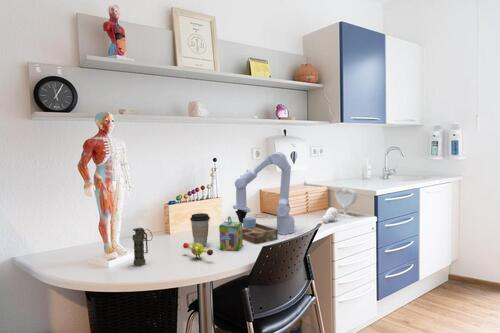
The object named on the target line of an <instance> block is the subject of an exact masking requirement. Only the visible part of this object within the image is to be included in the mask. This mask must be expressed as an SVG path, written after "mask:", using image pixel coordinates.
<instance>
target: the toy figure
mask: <svg viewBox="0 0 500 333" xmlns="http://www.w3.org/2000/svg"><path fill="white" fill-rule="evenodd" d="M182 247H183V248H184V249H190V250H191V254H192V255H194V256H195V257H194V259H196V260H200V259H201V255H202V254H203V253H206V254H207V255H208V256H212V255H213V254H214V251H213V249H207V250H206V249H204V247H203V245H202V244H200V243H195V244H194V243H193V244H192V245H190V244H189V243H188V242H185V243H183V246H182Z"/></svg>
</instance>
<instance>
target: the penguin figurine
mask: <svg viewBox="0 0 500 333" xmlns="http://www.w3.org/2000/svg"><path fill="white" fill-rule="evenodd" d="M338 214H339V212H338V209H337V208H336V207H334V206H333V207H329V208H328V209H327V210H326V212H325V213H324V215H323V216H322V217H321V221H322V222H323V224H328V223H329V222H330V220H331V221H333V222H334V223H336V222H337V218H338V216H339V215H338ZM328 220H329V221H328Z"/></svg>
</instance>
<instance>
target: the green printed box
mask: <svg viewBox="0 0 500 333" xmlns="http://www.w3.org/2000/svg"><path fill="white" fill-rule="evenodd" d="M242 227H243V223H242V222H239V221H232V218H231V215H229V216H228V217H227V221H224V222H222V223H220V224H219V227H218V228H219V229H218V230H219V250H220V251H240V249H241V248H242V246H243V239H242Z"/></svg>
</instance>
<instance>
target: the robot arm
mask: <svg viewBox="0 0 500 333" xmlns="http://www.w3.org/2000/svg"><path fill="white" fill-rule="evenodd" d="M270 165H275V166H277V167H278V168H279V169H280V170H281V172H280V173H281V175H280V176H281V177H280V190H279V201H278V204H277V205H278V206H277V207H276V210H275V213H276V229H277V230H278V235H282V236H283V235H284V236H285V235H289V234H293V233H296V230H295V218H294V216H293V215H291V214H290V212H291V207H290V199H289V196H290V186H291V185H290V184H291V171H292V170H291V169H292V166H291V164H290V163H289V160H288V158H287V156H286V155H285V154H284V153H283V152H281V151H277V152H272V153H271V155H269V156H267V157H266V158H263V160H262V161H261V162H260V163H259V164H257V165H256V166H255V167H254V168H249V169H247V170H246V172H245V173H244V174H241V175H240V177H239V178H237V179H236V180H235V181H234V186H235V190H236V191H235V197H236V198H235V201H236V204H234V205H232V209H233V210H236V211H235V215H236V216H237V218H238V222H242V224H243V218H247V215H248V213H251V208H249V207H247V186H248V185H249V184H250V183H251V182H252V181H254V180H255V179H256V178H257V177H258V174H259V172H261V171H262V170H264V169H265V168H266V167H267V166H270Z"/></svg>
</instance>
